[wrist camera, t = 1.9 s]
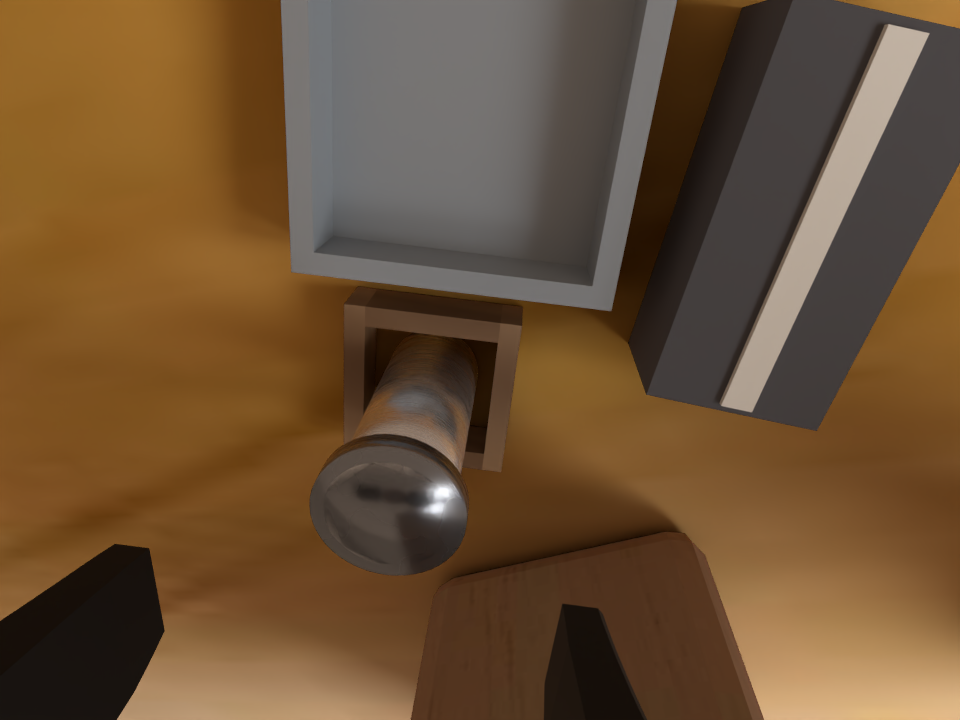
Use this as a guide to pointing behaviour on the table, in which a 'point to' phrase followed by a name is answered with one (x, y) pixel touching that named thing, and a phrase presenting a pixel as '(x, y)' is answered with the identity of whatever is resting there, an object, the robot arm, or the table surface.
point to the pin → (403, 464)
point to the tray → (470, 141)
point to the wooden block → (629, 617)
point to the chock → (799, 206)
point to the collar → (443, 320)
